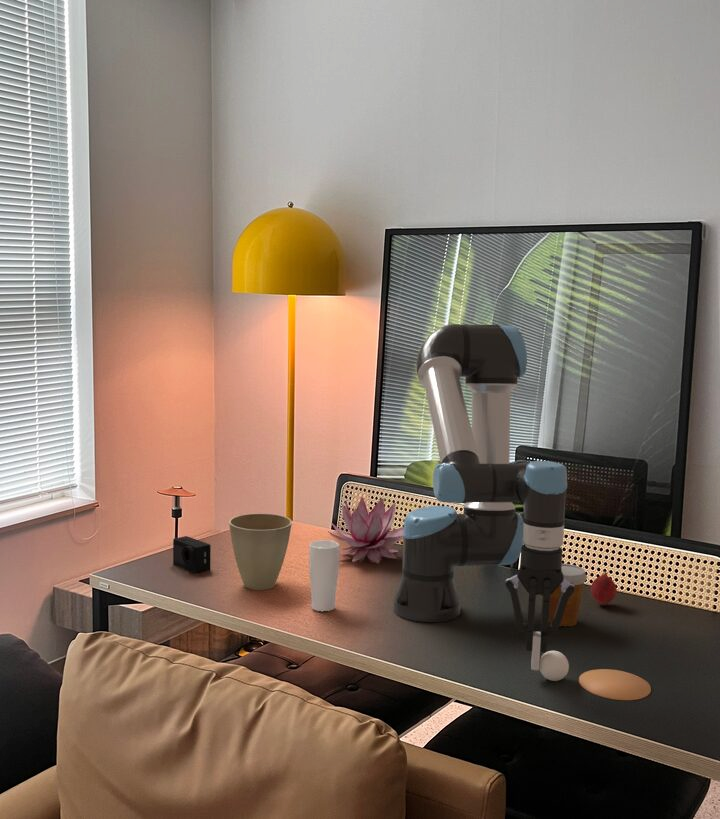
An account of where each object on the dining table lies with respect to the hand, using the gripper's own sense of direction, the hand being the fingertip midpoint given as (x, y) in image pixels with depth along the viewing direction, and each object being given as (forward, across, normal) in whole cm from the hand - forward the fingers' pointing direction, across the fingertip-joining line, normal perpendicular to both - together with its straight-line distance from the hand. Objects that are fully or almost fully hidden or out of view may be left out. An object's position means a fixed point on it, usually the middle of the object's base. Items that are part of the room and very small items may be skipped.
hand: (535, 667), depth 175 cm
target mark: (+2, +15, +1) cm, 15 cm away
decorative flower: (+2, -44, +67) cm, 80 cm away
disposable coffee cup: (+2, +6, +32) cm, 33 cm away
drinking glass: (+2, -47, +27) cm, 54 cm away
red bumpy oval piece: (+2, +16, +45) cm, 48 cm away
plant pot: (+2, -65, +38) cm, 76 cm away
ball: (0, +4, +1) cm, 4 cm away
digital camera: (+2, -86, +46) cm, 98 cm away
